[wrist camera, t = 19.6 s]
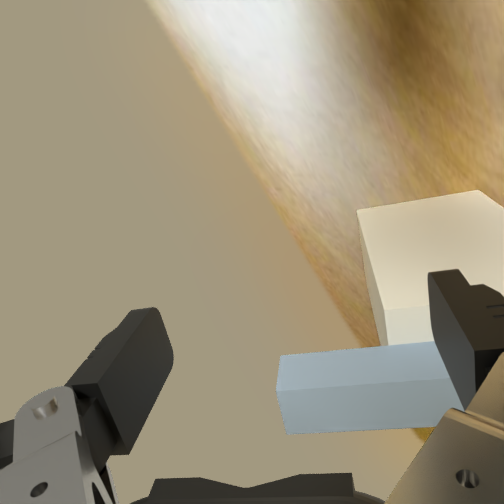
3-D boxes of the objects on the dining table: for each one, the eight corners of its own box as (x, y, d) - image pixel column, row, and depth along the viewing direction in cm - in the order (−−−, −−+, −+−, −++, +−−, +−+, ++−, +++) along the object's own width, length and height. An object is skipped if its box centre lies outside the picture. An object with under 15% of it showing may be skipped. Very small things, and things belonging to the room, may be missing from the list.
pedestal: (356, 210, 51) (384, 310, 30) (478, 189, 48) (610, 284, 26) (365, 281, 55) (397, 417, 33) (480, 266, 52) (597, 406, 30)
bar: (280, 355, 32) (275, 391, 29) (674, 318, 27) (731, 356, 23) (290, 395, 34) (286, 434, 30) (666, 368, 28) (717, 412, 25)
